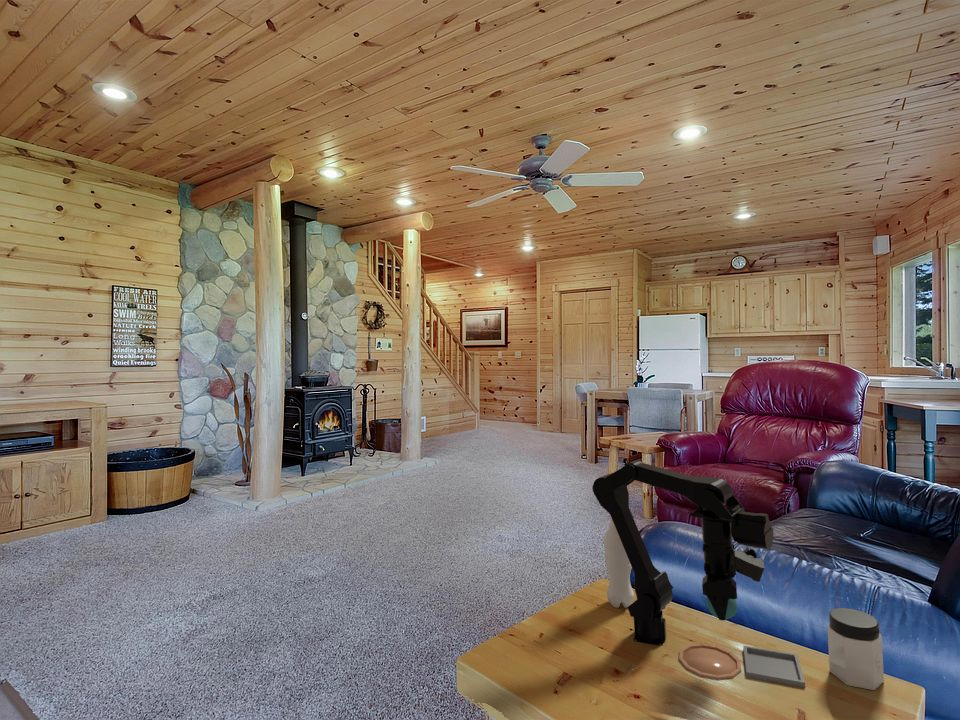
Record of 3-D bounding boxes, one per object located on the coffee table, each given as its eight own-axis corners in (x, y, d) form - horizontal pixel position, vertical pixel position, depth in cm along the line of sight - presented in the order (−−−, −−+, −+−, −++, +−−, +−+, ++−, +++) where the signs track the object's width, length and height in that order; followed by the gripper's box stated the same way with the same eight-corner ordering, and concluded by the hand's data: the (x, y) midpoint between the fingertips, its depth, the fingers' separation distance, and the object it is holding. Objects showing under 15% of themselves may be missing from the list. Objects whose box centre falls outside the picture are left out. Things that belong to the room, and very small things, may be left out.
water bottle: (608, 610, 135) (603, 515, 135) (606, 597, 142) (601, 507, 142) (636, 611, 133) (631, 515, 133) (632, 598, 141) (628, 507, 141)
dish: (678, 674, 107) (677, 669, 107) (681, 644, 117) (680, 639, 117) (742, 686, 102) (742, 681, 102) (739, 654, 113) (739, 649, 113)
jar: (871, 696, 97) (868, 633, 97) (823, 675, 104) (820, 616, 104) (889, 678, 102) (886, 618, 102) (843, 659, 109) (840, 603, 109)
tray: (746, 679, 104) (746, 671, 104) (743, 652, 113) (743, 645, 113) (805, 690, 100) (805, 682, 100) (797, 661, 109) (797, 654, 109)
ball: (706, 622, 107) (704, 593, 107) (707, 609, 113) (705, 582, 113) (738, 627, 105) (736, 597, 105) (737, 613, 110) (735, 585, 110)
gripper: (763, 559, 97) (769, 642, 97) (757, 528, 114) (761, 599, 114) (700, 553, 102) (705, 632, 101) (702, 524, 118) (707, 592, 118)
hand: (722, 613), depth 109 cm, fingers closed on ball, 6 cm apart
